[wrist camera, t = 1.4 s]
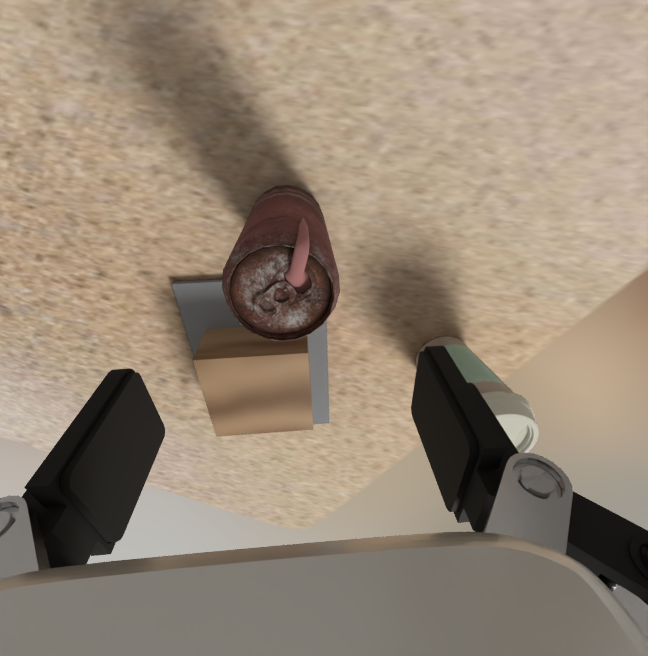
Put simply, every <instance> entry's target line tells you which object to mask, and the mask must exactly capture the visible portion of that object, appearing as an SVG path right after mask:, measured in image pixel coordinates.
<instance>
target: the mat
mask: <svg viewBox="0 0 648 656" xmlns="http://www.w3.org/2000/svg"><path fill="white" fill-rule="evenodd" d="M172 287H173V291H174V294H175V297H176V300H177V304H178V307H179V310H180V313H181V316H182V320H183V323H184V326H185V329H186V333H187V336H188V339H189V342H190V346H191V349H192V352H193V355H194V356H195V354H196V351H197V349H198V347H199V345H200V342H201V340H202V338H203V335H204V333H205V331H206V329H216V328H233V327H243V326H242V325H240V324H239V323H238V321H237V320H236V318H235V317H234V315H233V314H232V313H231V311H230V309H229V306H228V305H227V303H226V300H225V296H224V293H223V289H222V279H212V280H193V281H175V282H173V283H172ZM308 350H309V365H310V380H311V395H312V415H313V424H323V423H329V394H328V358H327V323H326V321H325V322H324V324H323V325H322V326H321V327H319V328H318V329H317V330H316V331H314V332H313V333H312V334H310V335H308Z"/></svg>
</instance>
